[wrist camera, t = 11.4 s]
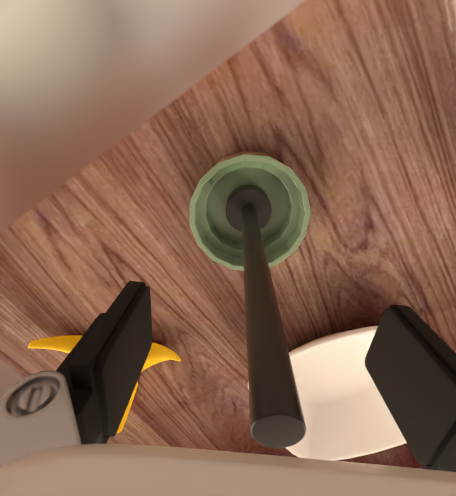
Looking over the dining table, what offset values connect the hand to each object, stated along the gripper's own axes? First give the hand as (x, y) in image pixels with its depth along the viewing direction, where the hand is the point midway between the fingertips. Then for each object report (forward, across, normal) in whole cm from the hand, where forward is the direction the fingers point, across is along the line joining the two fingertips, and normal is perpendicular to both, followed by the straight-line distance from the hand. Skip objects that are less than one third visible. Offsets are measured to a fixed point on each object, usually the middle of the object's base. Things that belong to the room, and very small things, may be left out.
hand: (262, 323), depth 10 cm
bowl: (+19, -14, +22) cm, 32 cm away
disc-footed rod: (+18, 0, 0) cm, 18 cm away
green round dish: (+18, 0, 0) cm, 18 cm away
